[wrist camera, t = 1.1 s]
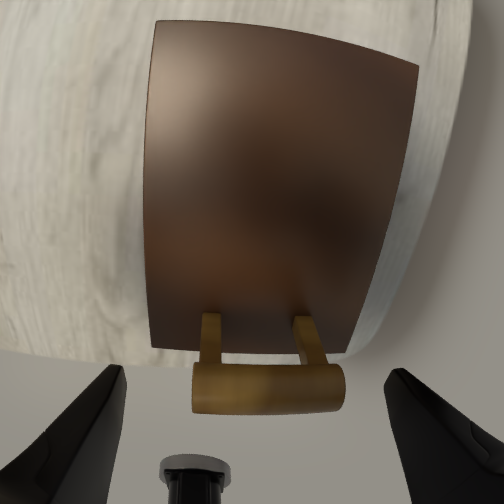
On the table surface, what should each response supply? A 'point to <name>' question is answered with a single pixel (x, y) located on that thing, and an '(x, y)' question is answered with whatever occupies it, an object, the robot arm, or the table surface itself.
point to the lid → (267, 203)
